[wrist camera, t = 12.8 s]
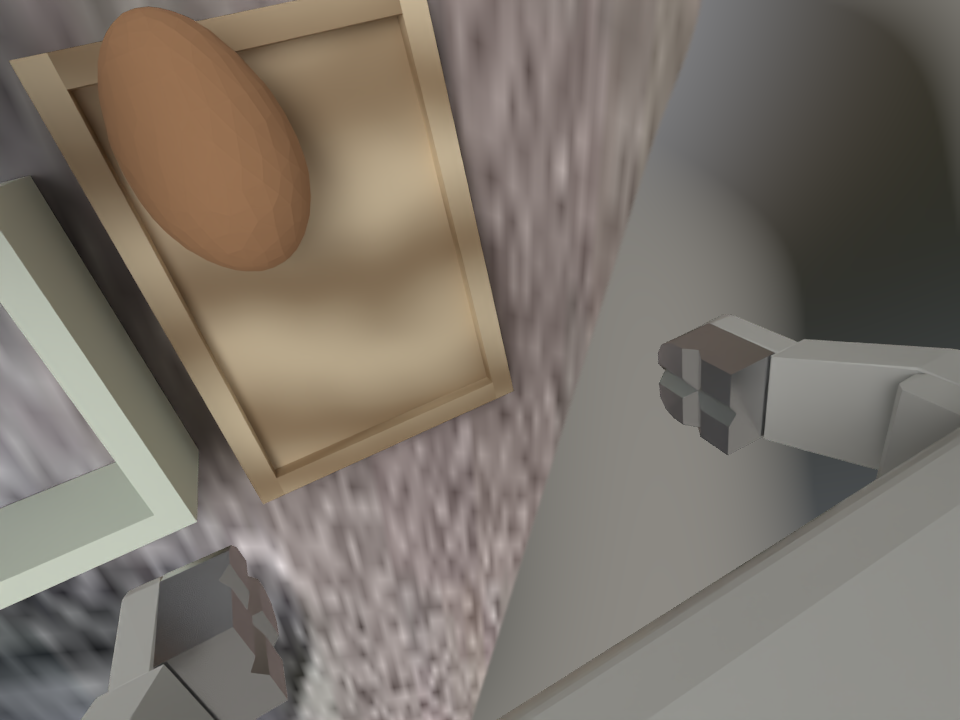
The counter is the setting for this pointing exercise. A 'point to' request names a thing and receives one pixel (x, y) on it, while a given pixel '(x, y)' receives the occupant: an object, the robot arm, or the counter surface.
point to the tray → (317, 245)
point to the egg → (202, 141)
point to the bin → (86, 413)
